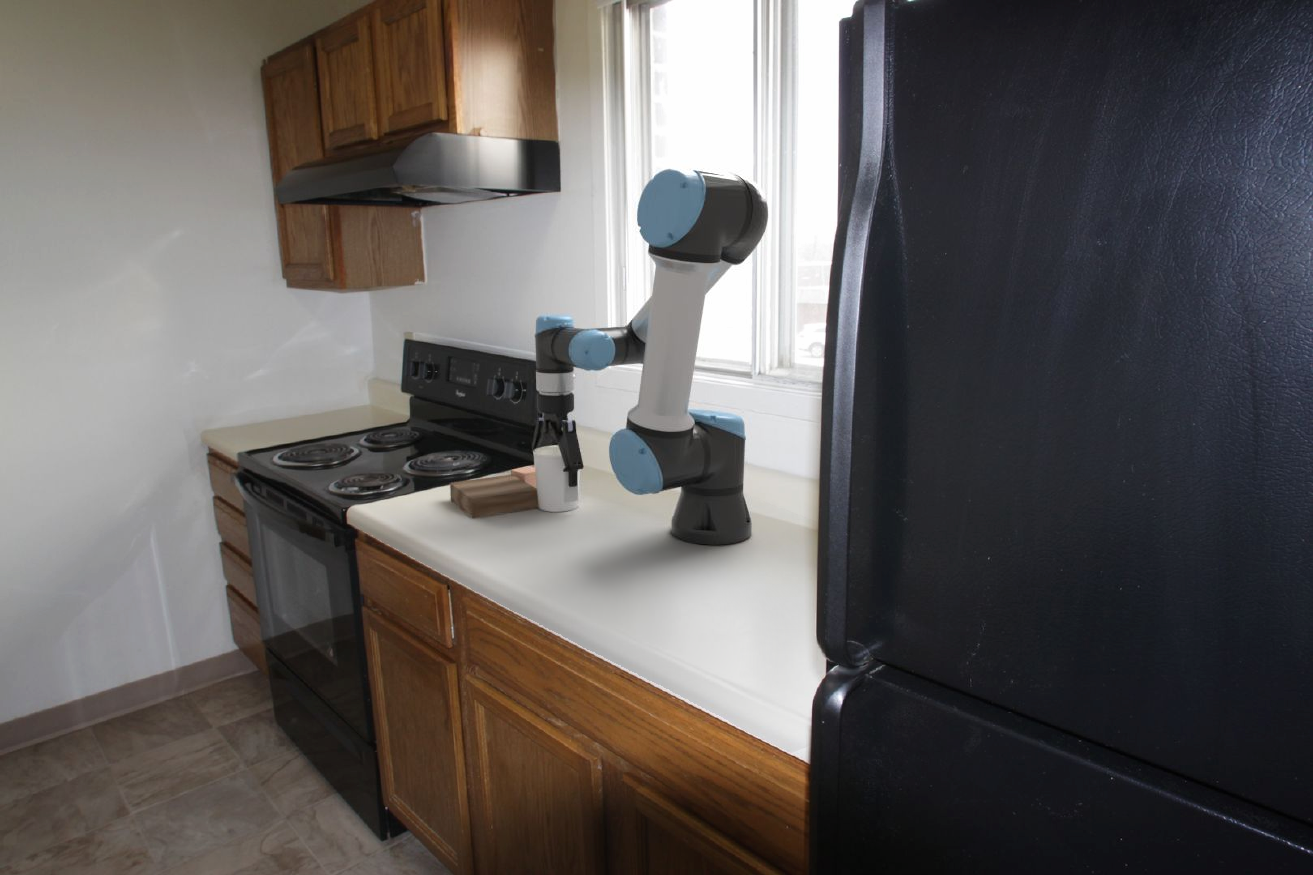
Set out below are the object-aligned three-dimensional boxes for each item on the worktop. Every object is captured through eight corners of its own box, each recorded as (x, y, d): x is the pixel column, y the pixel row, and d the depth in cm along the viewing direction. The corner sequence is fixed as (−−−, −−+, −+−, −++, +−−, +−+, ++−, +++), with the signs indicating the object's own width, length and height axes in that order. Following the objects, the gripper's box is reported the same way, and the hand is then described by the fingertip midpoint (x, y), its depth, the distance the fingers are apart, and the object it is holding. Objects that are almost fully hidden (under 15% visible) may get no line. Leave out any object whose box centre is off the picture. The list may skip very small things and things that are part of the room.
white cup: (573, 514, 165) (572, 456, 163) (527, 511, 167) (525, 454, 165) (587, 501, 175) (587, 446, 172) (544, 498, 177) (542, 444, 174)
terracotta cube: (543, 491, 182) (542, 469, 181) (525, 496, 179) (524, 473, 178) (529, 487, 186) (528, 465, 185) (511, 491, 182) (510, 469, 181)
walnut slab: (538, 507, 170) (537, 489, 169) (472, 518, 163) (471, 498, 162) (513, 491, 182) (512, 474, 181) (450, 500, 174) (450, 482, 174)
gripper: (600, 400, 158) (600, 505, 162) (547, 382, 178) (549, 476, 183) (564, 403, 154) (566, 511, 158) (514, 384, 175) (517, 481, 179)
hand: (556, 493), depth 171 cm, fingers open, 13 cm apart
